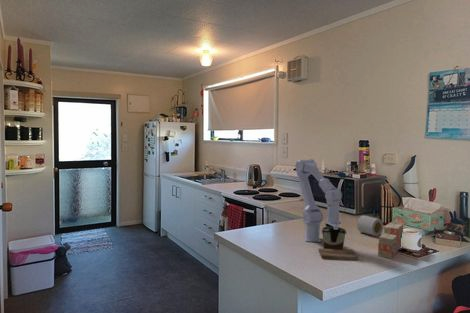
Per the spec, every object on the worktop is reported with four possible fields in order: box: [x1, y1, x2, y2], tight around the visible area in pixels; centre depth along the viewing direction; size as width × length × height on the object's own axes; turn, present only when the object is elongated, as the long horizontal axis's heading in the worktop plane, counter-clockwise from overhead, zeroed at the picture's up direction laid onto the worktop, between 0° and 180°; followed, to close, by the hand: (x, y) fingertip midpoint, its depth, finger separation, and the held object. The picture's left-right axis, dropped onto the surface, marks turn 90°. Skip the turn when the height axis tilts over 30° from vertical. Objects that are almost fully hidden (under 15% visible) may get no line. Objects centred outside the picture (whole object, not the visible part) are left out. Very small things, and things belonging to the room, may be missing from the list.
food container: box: [320, 226, 347, 249], centre depth 169 cm, size 12×6×10 cm, turn 86°
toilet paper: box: [356, 215, 384, 237], centre depth 194 cm, size 10×10×10 cm
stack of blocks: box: [377, 221, 404, 259], centre depth 165 cm, size 21×6×12 cm, turn 142°
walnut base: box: [317, 247, 359, 261], centre depth 158 cm, size 10×16×2 cm, turn 86°
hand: (332, 239), depth 169 cm, fingers closed on food container, 6 cm apart
